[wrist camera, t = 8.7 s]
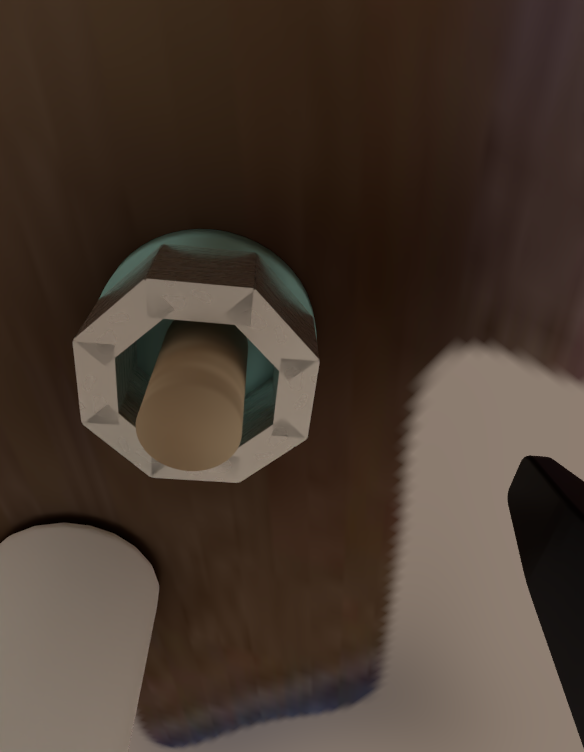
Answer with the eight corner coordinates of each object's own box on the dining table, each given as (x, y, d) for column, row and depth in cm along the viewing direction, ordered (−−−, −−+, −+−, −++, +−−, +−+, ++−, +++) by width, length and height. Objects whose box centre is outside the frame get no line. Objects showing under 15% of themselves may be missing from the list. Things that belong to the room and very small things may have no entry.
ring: (322, 259, 18) (330, 295, 16) (296, 434, 22) (299, 486, 20) (94, 236, 18) (64, 271, 15) (108, 421, 22) (86, 473, 19)
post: (329, 241, 19) (350, 317, 14) (301, 426, 23) (309, 536, 18) (92, 217, 18) (24, 287, 13) (107, 411, 23) (59, 522, 17)
